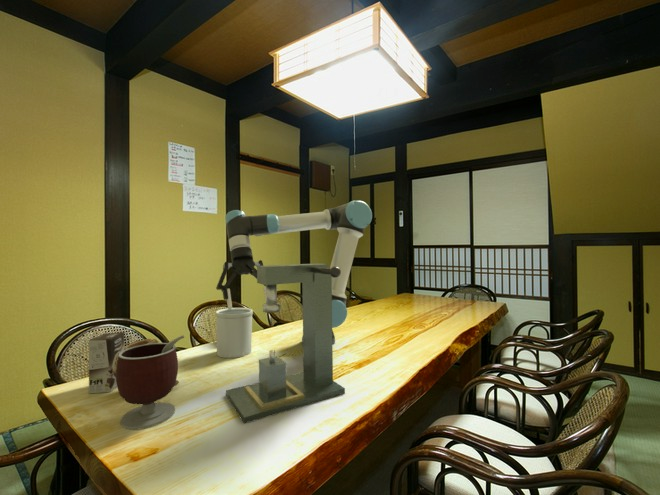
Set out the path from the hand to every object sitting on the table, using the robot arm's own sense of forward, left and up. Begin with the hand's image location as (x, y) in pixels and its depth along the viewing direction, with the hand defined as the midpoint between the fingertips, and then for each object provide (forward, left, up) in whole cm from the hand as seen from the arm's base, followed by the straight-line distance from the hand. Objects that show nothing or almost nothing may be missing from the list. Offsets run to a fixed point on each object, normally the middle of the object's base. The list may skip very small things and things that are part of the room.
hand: (250, 306), depth 110 cm
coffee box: (+41, -16, -24) cm, 50 cm away
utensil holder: (-2, -27, -24) cm, 36 cm away
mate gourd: (+30, +12, -24) cm, 40 cm away
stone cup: (+30, -7, -24) cm, 39 cm away
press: (-4, +24, -23) cm, 34 cm away
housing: (0, +20, -22) cm, 30 cm away
